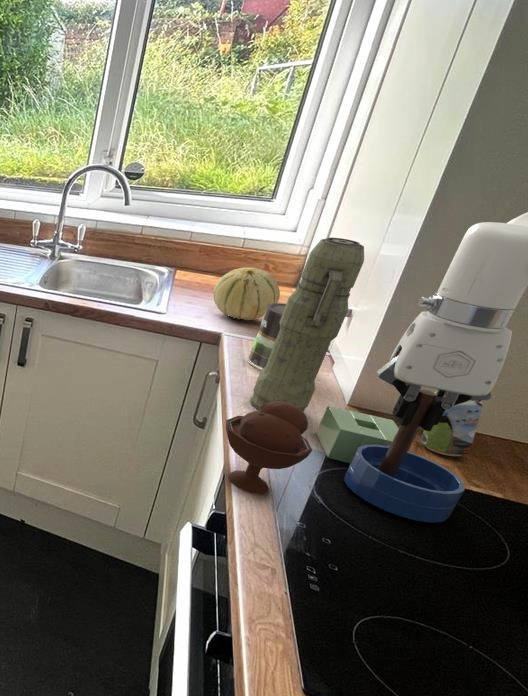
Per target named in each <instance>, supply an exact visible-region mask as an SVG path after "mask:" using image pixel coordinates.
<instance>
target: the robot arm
mask: <svg viewBox="0 0 528 696" xmlns="http://www.w3.org/2000/svg"><path fill="white" fill-rule="evenodd" d="M527 287H528V211H527V212H525V213H522V214H520V215H519V216H517V217H515V218H512V219H511V220H509V221H508V222H495V221H494V222H493V221H485V222H484V221H483V222H477V223H475V224H473V225H471V226H470V227H469V228H468V229H467V231H466V232H465V233H464V235H463V238H462V240H461V241H460V244H459V246H458V248H457V250H456V252H455V254H454V256H453V258H452V260H451V262H450V264H449V267H448V269H447V271H446V273H445V275H444V277H443V279H442V281H441V282H440V286H439V288H438V289H437V292H433V295H432V296H428V297H425V296H421V297H420V298H419V300H418V302H417V305H418V306H419V307H424V308H425V309H427V311H421V312H420V313H419V314H418V315H417V317H415V319H414V320H413V321H412V322H411V324H410V325H409V327H408V328H407V329H406V330H405V332H404V334H403V335H402V336H401V338H400V340H399V342H398V343H397V345H396V346H395V349H394V350H393V352H392V354H391V356H390V358H389V361H388V362H387V363H386V364H384V365H383V366H382V367H380V368H379V369H378V370H376V372H375V374H376V376H377V377H378V378H379V379H380V380H381V381H384V382H385V383H387V384H388V385H391V386H393V387H394V388H395V389H396V390H397V392H398V393H399V397H398V399H397V401H396V403H395V405H394V407H393V410H392V416H394V419H395V420H396V422H397V423H398V424H399V426H400V425H403V426H406V425H408V423H409V421H410V419H411V417H412V415H413V413H414V411H415V409H416V407H417V403H416V402H415V400H416V397H417V395H418V393H419V391H420V389H422V387H426V388H430V389H434V390H436V391H437V392H436V391H435V392H436V395H437V396H436V398H435V400H434V402H433V404H432V406H431V408H430V410H429V412H428V414H427V415H426V417H425V419H424V421H423V423H422V425H421V427H420V428H421V429H422V430H423V431H424V430H425V431H431V429H432V428H433V426H434V425H438V423H439V421H440V419H441V417H442V416H443V414H444V412H445V410H446V409H451V408H452V407H453V406H454V405H457V404H461V403H464V402H467V401H469V400H471V401H478V400H482V401H489V400H491V399H492V390H493V389H494V387H495V385H496V383H497V381H498V378H499V376H500V375H501V371H502V369H503V367H504V365H505V360H506V359H507V356H508V352H509V348H510V345H511V340H512V335H513V331H512V330H511V329H510V328H508V327H507V325H508V323H509V321H510V319H511V317H512V315H513V314H514V312H515V310H516V308H517V306H518V304H519V302H520V300H521V299H522V296H523V295H524V293H525V291H526V290H527Z"/></svg>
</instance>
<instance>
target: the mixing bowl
mask: <svg viewBox="0 0 528 696" xmlns="http://www.w3.org/2000/svg"><path fill="white" fill-rule="evenodd" d="M388 449H389V446H382V445H363V446H361V447H358V449H357V451H356V453H355V455H354V457H353V459H352V461H351V463H349V466H348V468H347V469H346V472H345V474H344V476H343V481H344V482H345V486H346V487H348V488H349V489H350V490H351V491H352V492H353V493H354V494H355V495H356V496H358V497H360V498H361V499H363V500H364V501H366V502H367V503H369V504H371V505H373V506H374V507H377V508H379V509H380V510H383V511H385V512H387V513H390V514H393V515H395V516H399V517H402V518H404V519H405V518H406V519H409V520H411V521H412V520H413V521H417V522H423V523H431V524H432V523H443V522H445V521H446V520H448V519H449V518H450V516H451V514H452V512H453V511H454V509H455V507H456V506H457V504H458V503H459V501H460V499H461V498H462V495H463V494H464V492H465V489H466V488H465V487H466V485H465V483H464V482H463V480H462V479H461V478H460V477H459V476H458V475H457V474H455V473H454V472H452V471H451V470H450V469H448V468H447V467H444V466H443V465H441V464H439V463H437V462H436V461H434V460H432V459H429V458H427V457H424V456H422V455H419V454H417V453H414V452H411V451H408V452H407V454H406V456H405V458H404V460H403V462H402V463H401V465H400V467H399V469H398V471H397V473H396V475H395V477H394V478H393V477H391V476H389V475H387V474H385V473H383V472H381V471H380V470H378V469H379V467H380V465H381V463H382V461H383V459H384V457H385V455H386V453H387V451H388Z"/></svg>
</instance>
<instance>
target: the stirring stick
mask: <svg viewBox="0 0 528 696" xmlns="http://www.w3.org/2000/svg"><path fill="white" fill-rule="evenodd" d="M436 396H437V395H436V394H435V392H433V391H431V390H427V389H423V388H421V389H420V391H419V393H418V395H417V397H416V400H415V402H416V403H417V407H416V409H415V411H414V413H413V415H412V417H411V419H410V421H409V423H408V425H406V426H403V425H400V424H399V427H398V428H399V429H398V431H397V433H396V435H395V437H394V439H393V441H392V443H391V445H390V447H389V449H388V451H387V453H386V455H385V457H384V459H383V461H382V463H381V465H380V467H379V469H378V470H380V471H381V472H383V473H385V474H387V475H389V476H391V477H393V478H394V477H395V475H396V473H397V471H398V469H399V467H400V465H401V463H402V462H403V460H404V458H405V456H406V454H407V452H409V451H410V449H411V447H412V444H413V442H414V441H415V439H416V437H417V434H418V433H419V431H420V429H421V428H422V427H421V425H422V423H423V421H424V419H425V417H426V415H427V414H428V412H429V410H430V408H431V406H432V404H433V402H434V400H435V398H436ZM410 446H411V447H410ZM409 448H410V449H409ZM408 450H409V451H408Z"/></svg>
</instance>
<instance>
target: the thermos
mask: <svg viewBox="0 0 528 696" xmlns="http://www.w3.org/2000/svg"><path fill="white" fill-rule="evenodd" d="M364 263H365V246H364V244H361V243H360V242H359V241H356V240H352V239H347V238H340V237H326V238H322V239H320V240H319V241H318V243H316V245H315V246H314V247H313V248H312V250H311V251H310V252H309V254H308V257H307V260H306V263H305V264H304V267H303V271H302V273H301V275H300V278H301V279H300V282H298V283H297V286H296V289H295V290H294V291H293V292H292V293H291V294H290V296H289V297H288V299H287V301H286V303H285V304H286V306H285V309H284V311H283V314H282V317H281V319H280V322H279V323H280V330H279V333H278V336H277V338H276V341H275V344H274V346H273V349H272V351H271V354H270V357H269V359H268V362H267V364H266V366H265V367H264V368H263V369H262V370H260V371H259V374H258V376H257V379H256V382H255V384H254V387H253V389H252V390H253V394H252V396H251V397H250V400H249V402H250V404H251V406H253V407H254V408H255V409H256V410H257V411H258V410H259V408H260V406H262V405H264V404H266V403H268V402H273V401H282V402H287V403H290V404H292V405H294V406H296V407H298V408H299V409H300V410H302V411H303V413H304V412H305V410H306V408H308V407H309V405H310V402H311V400H312V398H313V395H314V392H315V390H316V386H315V383H316V382H315V381H316V378H317V376H318V374H319V372H320V370H321V367H322V364H323V362H324V360H325V357H326V356H327V353H328V350H329V348H330V345H331V343H332V341H334V339H336V338H337V337H338V336H339V333H340V330H341V328H342V326H343V323H344V321H345V318H346V316H347V314H348V312H349V298H350V295H351V293H350V292H351V289H353V288H354V286H355V284H356V282H357V279H358V277H359V275H360V272H361V270H362V267H363V264H364ZM304 414H305V413H304Z"/></svg>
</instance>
